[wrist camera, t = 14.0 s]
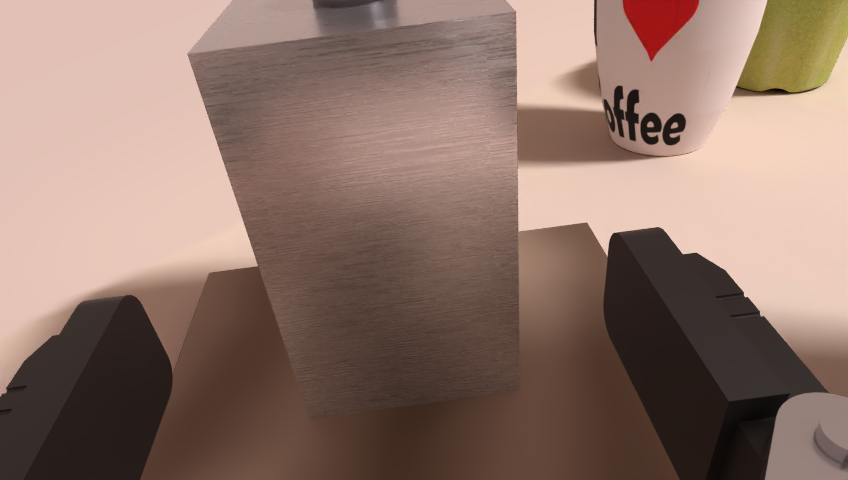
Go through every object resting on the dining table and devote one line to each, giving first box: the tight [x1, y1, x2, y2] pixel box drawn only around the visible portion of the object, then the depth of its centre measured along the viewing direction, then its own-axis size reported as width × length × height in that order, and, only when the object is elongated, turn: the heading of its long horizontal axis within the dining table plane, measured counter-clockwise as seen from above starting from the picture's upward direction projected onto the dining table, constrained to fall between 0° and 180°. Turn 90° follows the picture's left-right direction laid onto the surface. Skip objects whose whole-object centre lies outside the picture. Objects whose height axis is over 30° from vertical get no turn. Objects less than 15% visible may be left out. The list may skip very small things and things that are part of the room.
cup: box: [594, 0, 767, 156], centre depth 30 cm, size 8×8×10 cm
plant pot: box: [736, 0, 848, 92], centre depth 35 cm, size 9×9×9 cm
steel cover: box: [188, 0, 520, 419], centre depth 17 cm, size 6×6×12 cm
